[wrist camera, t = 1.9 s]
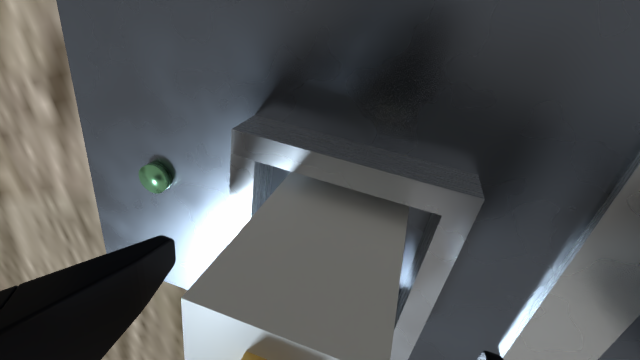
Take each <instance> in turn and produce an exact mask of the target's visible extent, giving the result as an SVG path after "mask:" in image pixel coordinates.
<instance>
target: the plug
mask: <svg viewBox="0 0 640 360" xmlns="http://www.w3.org/2000/svg"><path fill="white" fill-rule="evenodd" d="M408 212H409V206H407V205H404V204H400V203H397V202H393V201H390V200H387V199H383V198H380V197H376V196H373V195H370V194H366V193H363V192H359V191H356V190H352V189H349V188H346V187H342V186H339V185H335V184H332V183H329V182H325V181H322V180H318V179H315V178H311V177H308V176H305V175H301V174H298V173H294V172H290V174H289V175H288V176H287V177H286V178H285V179H284V181H283V182H282V183H281V184H280V185H279V186H278V187H277V189H276V190H275V191H274V192H273V193H272V194H271V195H270V197H269V198H268V199H267V200H266V201H265V202H264V203H263V205H262V206H261V207H260V208H259V209H258V210H257V212H256V213H255V214H254V215H253V216H252V217H251V218H250V220H249V221H248V222H247V223H246V224H245V225H244V226H243V228H242V229H241V230H240V231H239V232H238V233H237V234H236V236H235V237H234V238H233V239H232V240H231V241H230V242H229V244H228V245H227V246H226V247H225V248H224V249H223V251H222V252H221V253H220V254H219V255H218V256H217V257H216V259H215V260H214V261H213V262H212V263H211V264H210V265H209V267H208V268H207V269H206V270H205V271H204V272H203V273H202V275H201V276H200V277H199V278H198V279H197V280H196V282H195V283H194V284H193V285H192V286H191V287H190V288H189V290H188V291H187V292H186V293H185V294H184V295H183V296H182V298H181V305H182V322H183V338H184V355H185V360H390V358H391V350H392V342H393V334H394V325H395V317H396V309H397V301H398V293H399V285H400V277H401V269H402V260H403V252H404V244H405V236H406V228H407V220H408Z"/></svg>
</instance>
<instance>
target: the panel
mask: <svg viewBox="0 0 640 360" xmlns="http://www.w3.org/2000/svg"><path fill="white" fill-rule="evenodd" d="M56 1H57V6H58V11H59V16H60V21H61V26H62V31H63V36H64V41H65V46H66V51H67V56H68V61H69V66H70V71H71V76H72V81H73V86H74V91H75V96H76V101H77V106H78V111H79V117H80V122H81V127H82V132H83V137H84V142H85V147H86V152H87V157H88V162H89V167H90V172H91V177H92V182H93V187H94V192H95V197H96V202H97V207H98V212H99V217H100V222H101V227H102V232H103V237H104V242H105V247H106V252H107V254H108V253H110V252H113V251H116V250H119V249H122V248H125V247H128V246H130V245H133V244H136V243H139V242H142V241H145V240H147V239H150V238H153V237H156V236H159V235H164V236H166V237H169V238H172V239H173V240H174V241H175V252H176V261H175V264H174V266H173V268H172V269H171V271H170V272H169V274H168V275H167V277H166V278H165V279H164V281H166V282H168V283H171V284H174V285H176V286H179V287H181V288H184V289H187V290H189V288H190V287H191V286H192V285H193V284H194V283H195V282H196V280H197V279H198V278H199V277H200V276H201V275H202V273H203V272H204V271H205V270H206V269H207V268H208V267H209V265H210V264H211V263H212V262H213V261H214V260H215V259H216V257H217V256H218V255H219V254H220V253H221V252H222V251H223V249H224V248H225V247H226V246H227V245H228V244H229V242H230V241H231V240H232V239H233V238H234V237H235V236H236V234H237V233H238V232H239V231H240V230H241V229H242V228H243V226H244V225H245V224H246V223H247V222H248V221H249V220H250V218H251V217H252V216H253V215H254V214H255V213H256V212H257V210H258V209H259V208H260V207H261V206H262V205H263V203H264V202H265V201H266V200H267V199H268V198H269V197H270V195H271V194H272V193H273V192H274V191H275V190H276V189H277V187H278V186H279V185H280V184H281V183H282V182H283V181H284V179H285V178H286V177H287V176H288V175H289V174H290V172H294V173H298V174H301V175H305V176H308V177H311V178H315V179H318V180H322V181H325V182H329V183H332V184H335V185H339V186H342V187H346V188H349V189H352V190H356V191H359V192H363V193H366V194H370V195H373V196H376V197H380V198H383V199H387V200H390V201H393V202H397V203H400V204H404V205H407V206H409V212H408V220H407V228H406V236H405V244H404V252H403V260H402V269H401V277H400V285H399V293H398V301H397V309H396V317H395V325H394V334H393V342H392V350H391V358H390V360H477V358H478V357H479V355H480V354H481V352H482V351H484V350H486V351H489V352H492V353H495V354H498V355H500V356H501V357H502V358H503V359H504V360H640V0H56Z"/></svg>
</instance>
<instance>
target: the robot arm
mask: <svg viewBox="0 0 640 360" xmlns="http://www.w3.org/2000/svg"><path fill="white" fill-rule="evenodd" d="M175 261H176V252H175V241H174V240H173V239H172V238H169V237H166V236H164V235H159V236H156V237H153V238H150V239H147V240H145V241H142V242H139V243H136V244H133V245H130V246H128V247H125V248H122V249H119V250H116V251H113V252H110V253H108V254H105V255H102V256H99V257H96V258H93V259H91V260H88V261H85V262H82V263H79V264H76V265H73V266H71V267H68V268H65V269H62V270H59V271H56V272H54V273H51V274H48V275H45V276H42V277H39V278H36V279H34V280H31V281H28V282H25V283H22V284H20V285H19V286H13V287H11V288H8V289H5V290H2V291H0V360H101V359H102V358H103V356H104V355H105V354H106V353H107V352H108V351H109V349H110V348H111V347H112V346H113V345H114V344H115V342H116V341H117V340H118V339H119V338H120V337H121V335H122V334H123V333H124V332H125V331H126V330H127V328H128V327H129V326H130V325H131V324H132V322H133V321H134V320H135V319H136V318H137V317H138V315H139V314H140V313H141V312H142V310H143V309H144V308H145V307H146V305H147V304H148V302H149V301H150V300H151V298H152V297H153V295H154V294H155V292H156V291H157V290H158V288H159V287H160V285H161V284H162V282H163V281H164V279H165V278H166V277H167V275H168V274H169V272H170V271H171V269H172V268H173V266H174V264H175ZM477 360H504V359H503V358H502V357H501V356H500V355H498V354H495V353H492V352H489V351H486V350H484V351H482V352H481V354H480V355H479V357H478V358H477Z"/></svg>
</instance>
